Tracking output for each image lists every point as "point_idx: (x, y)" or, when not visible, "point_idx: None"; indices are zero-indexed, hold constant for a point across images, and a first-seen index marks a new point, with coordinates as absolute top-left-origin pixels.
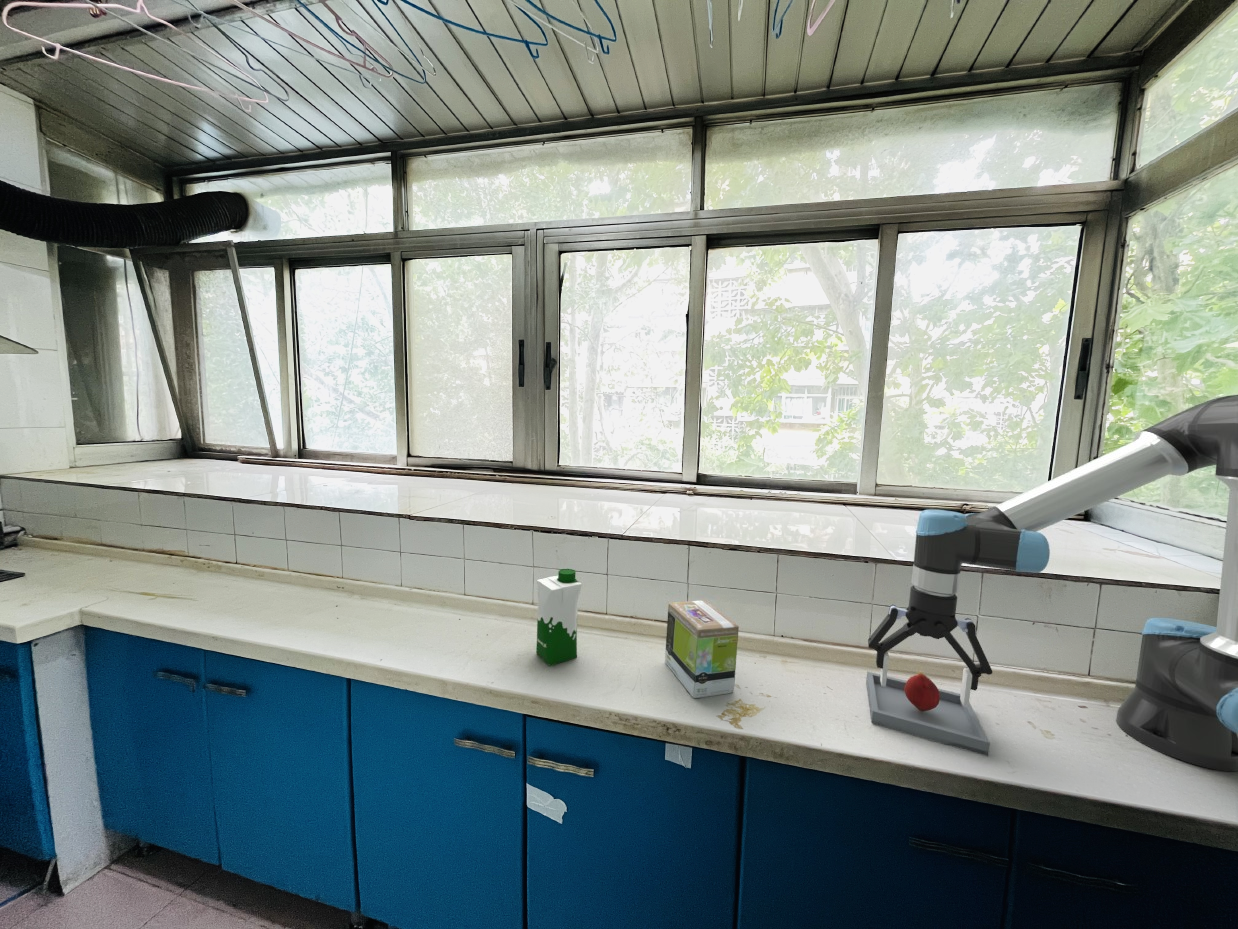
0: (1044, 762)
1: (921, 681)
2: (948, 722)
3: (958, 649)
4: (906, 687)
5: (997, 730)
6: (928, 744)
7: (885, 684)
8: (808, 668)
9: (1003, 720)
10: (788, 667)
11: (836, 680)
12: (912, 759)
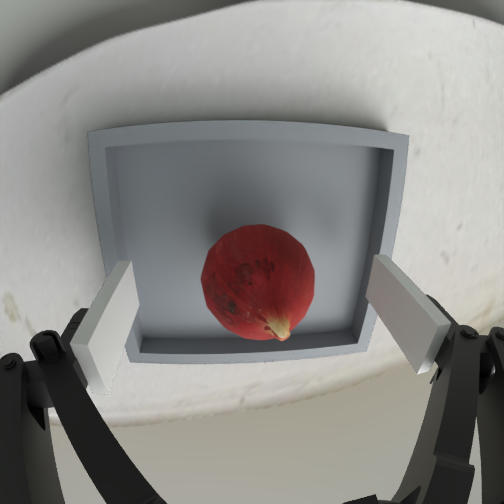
0: (9, 191)
1: (278, 289)
2: (179, 229)
3: (106, 465)
4: (314, 274)
5: (75, 274)
6: (252, 95)
7: (379, 259)
8: (458, 313)
9: (68, 322)
10: (489, 292)
11: None
12: (308, 11)
